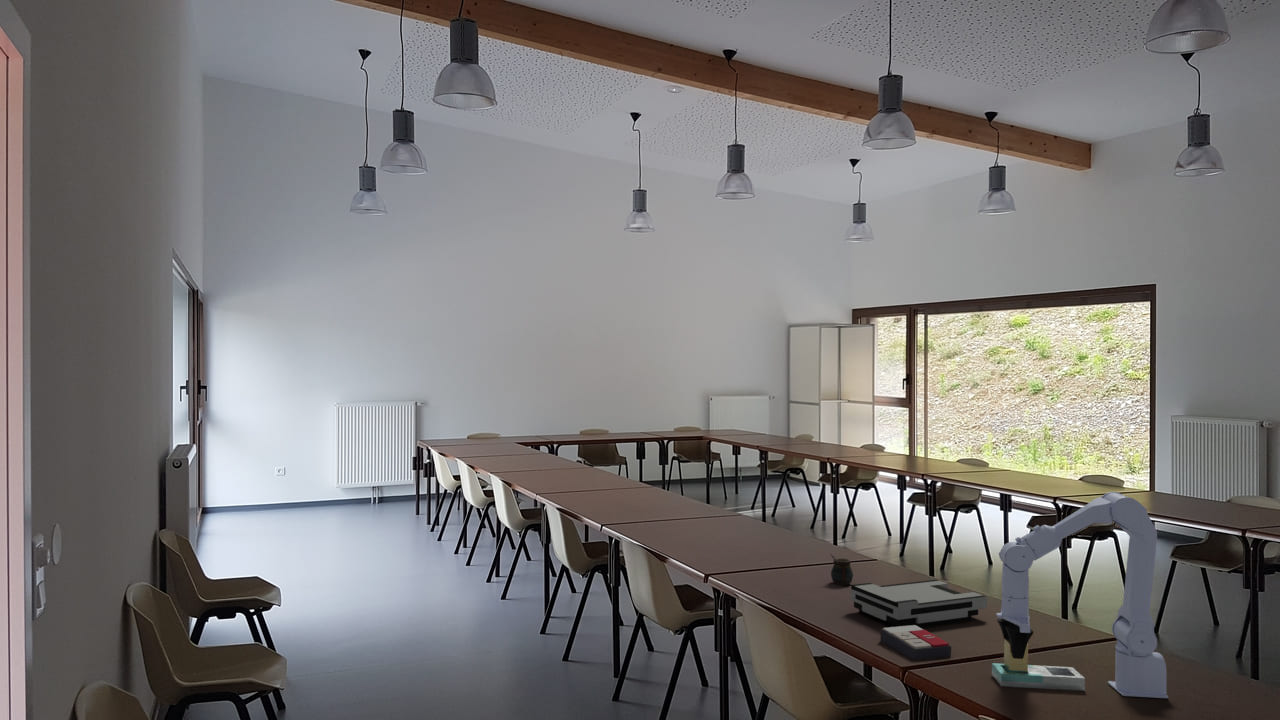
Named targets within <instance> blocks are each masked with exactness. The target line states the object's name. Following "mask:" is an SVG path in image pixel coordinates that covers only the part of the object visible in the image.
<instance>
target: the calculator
mask: <svg viewBox="0 0 1280 720" xmlns="http://www.w3.org/2000/svg"><path fill="white" fill-rule="evenodd" d="M880 643H882V644H885V645H886V646H888V647H891V648H893V649H894V650H896V651H897V652H899V653H901V654H902V655H904V656H906V657H907V658H910V659H911V660H914V661H918V660H928V659H937V658H947V657H952V645H950V644H949V642H947V641H946V640H944V639H942V638H940V637H938V636H937V635H935V634H933V633H932V632H930V631H927V630H926V629H923V628H920V627H918V626H916V625H911V626H899V627H894V626H890V627H883V628H880Z"/></svg>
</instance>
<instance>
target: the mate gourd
mask: <svg viewBox="0 0 1280 720" xmlns="http://www.w3.org/2000/svg"><path fill="white" fill-rule="evenodd" d="M829 555H830V556H831V557H832V558H833V566H832V569H831V571H830V576H831V579H832V581H833V582H834V583H835V584H836V585H839V586H847V585H850V584H851V583H852V581H853V577H854V572H853V570H852V567H851V559H848V558H844V557H840V558H835V557H834V556H833V554H832V553H829Z"/></svg>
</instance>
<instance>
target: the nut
mask: <svg viewBox="0 0 1280 720" xmlns="http://www.w3.org/2000/svg"><path fill="white" fill-rule="evenodd" d="M1003 643H1004V644H1003V664H1004V665H1005V666H1006V667H1007V668H1008V669H1009V670H1013V671H1028V665H1029V644H1027V647H1026V650H1025V654H1024V657H1023V659H1014V658H1013V656H1012V651H1011V643H1010V639H1006V638H1004V637H1003Z"/></svg>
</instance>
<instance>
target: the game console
mask: <svg viewBox="0 0 1280 720" xmlns="http://www.w3.org/2000/svg"><path fill="white" fill-rule="evenodd" d="M850 601H852V602H853V608H855V609H857V610H858V612H860V613H862V614H863V615H866V616H868V617H871V618H878V619H880V620H882V621H885V622H887V623H888V625H890V627H899V626H911V625H916V626H918V627H920V628H921V629H923V628H929V627H938V626H944V625H945V626H946V625H953V624H959V623H968V622H972V621H973V620H972V619H973V618H972V616H979V610H984V609H988V596H986V595H984V594H980V593H979V592H975V591H972V592H964V593H962V592H960V591H956V590H954V589H953V590H952V589H951V588H949V583H947V582H944V581H940V580H938V579H930V580H922V581H921V580H920V581H912V582H903V583H902V582H901V583H894V584H885V585H877V584H875V583H872V582H865V583H857V584H856V583H854V584H851V585H850Z"/></svg>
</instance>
